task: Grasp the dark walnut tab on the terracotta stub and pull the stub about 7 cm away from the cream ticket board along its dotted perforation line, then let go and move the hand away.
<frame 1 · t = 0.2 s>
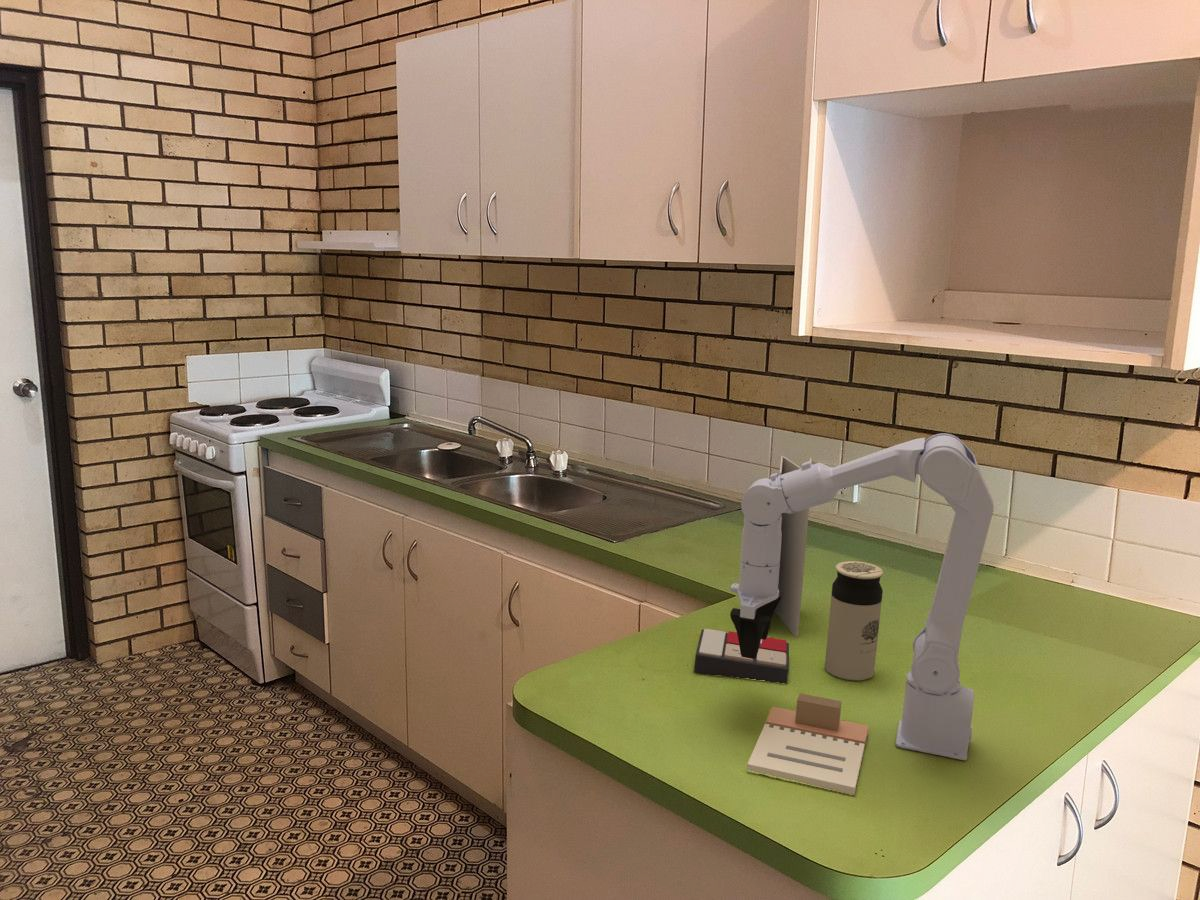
hand: (754, 647, 146), 10 cm above the worktop, tool pointing down, fingers open, 7 cm apart
travel mug: (849, 672, 162), on the worktop
ticket: (806, 761, 133), on the worktop
calculator: (741, 667, 163), on the worktop
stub: (817, 715, 141), point 2 cm above the worktop, slide at 0.0 cm
brochure: (783, 622, 182), on the worktop
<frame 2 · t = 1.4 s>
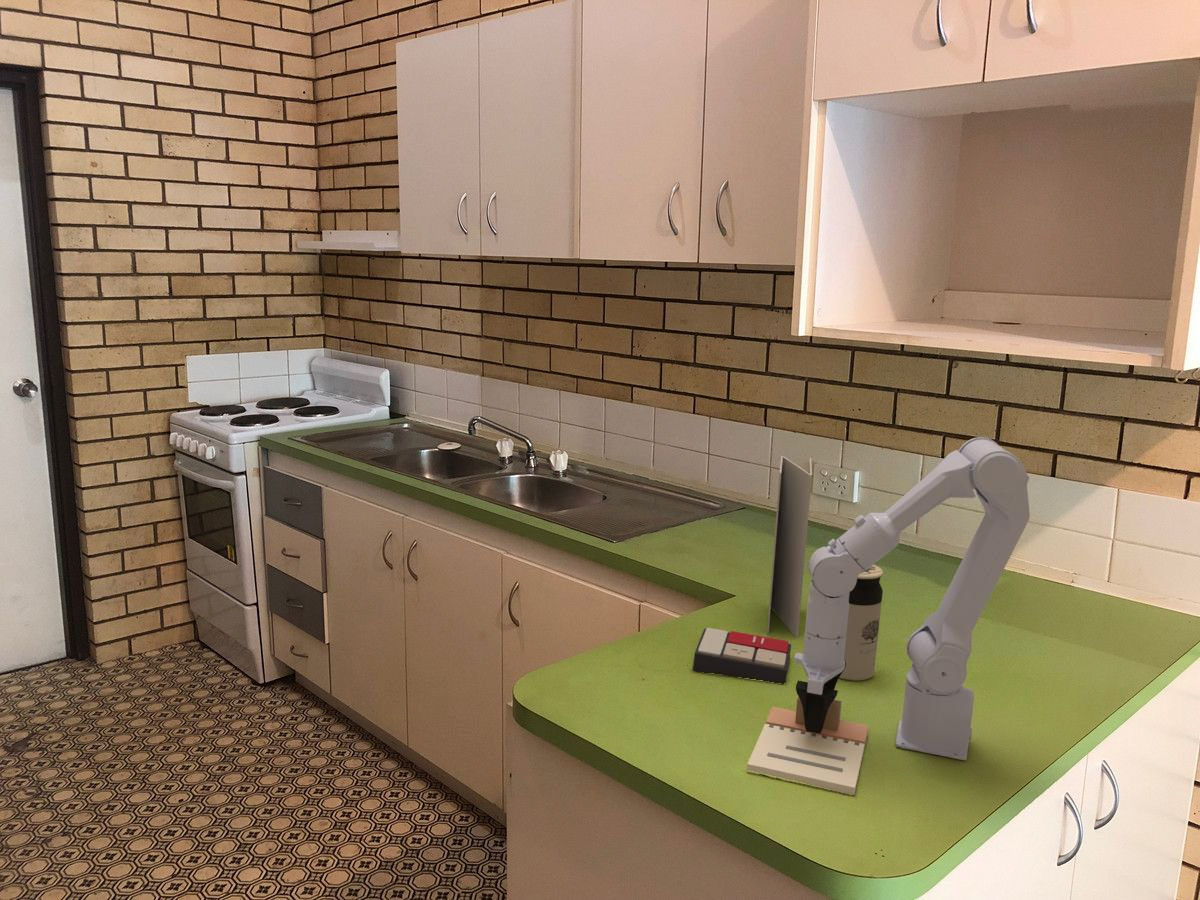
hand: (817, 719, 141), 2 cm above the worktop, tool pointing down, fingers open, 7 cm apart
nothing on the worktop moved.
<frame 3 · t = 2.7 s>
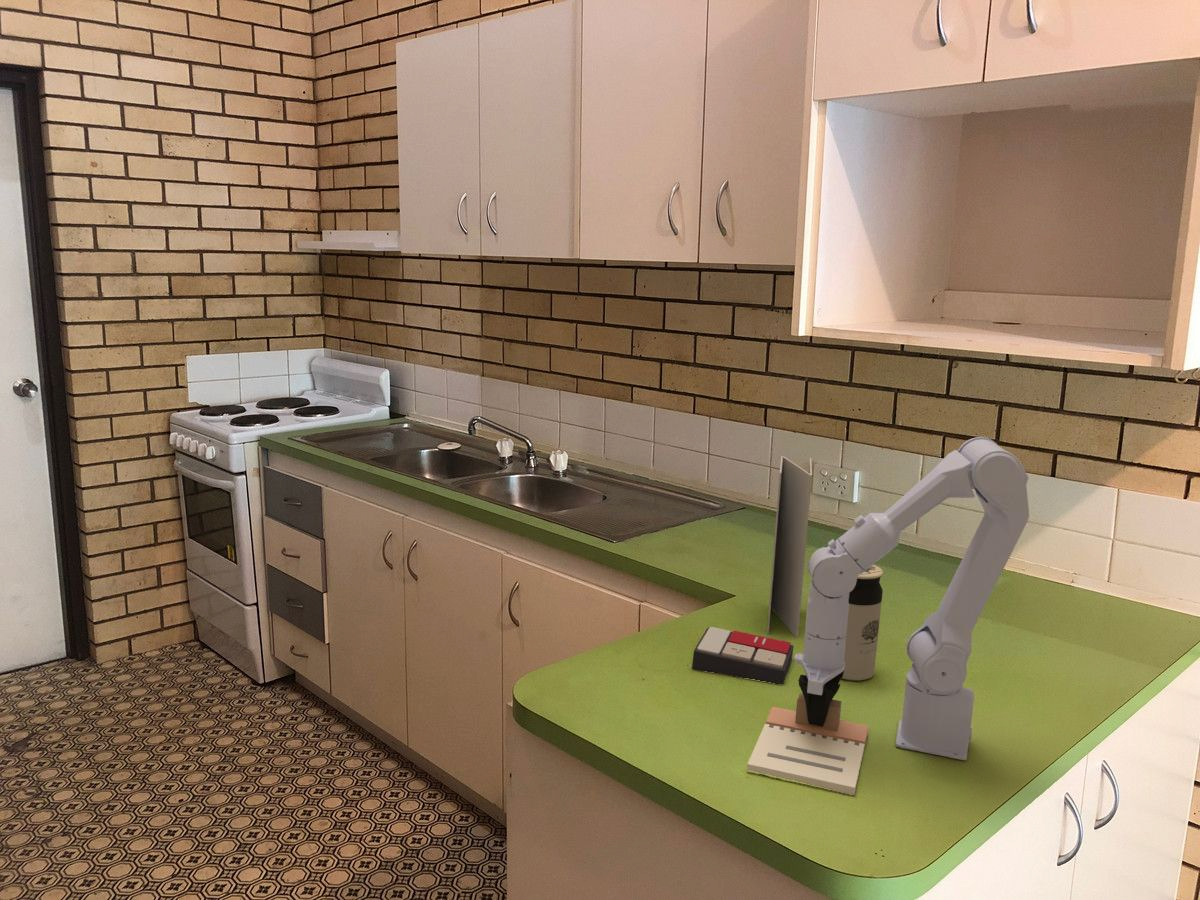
hand: (817, 719, 141), 2 cm above the worktop, tool pointing down, fingers closed on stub, 2 cm apart
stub: (817, 715, 141), point 2 cm above the worktop, slide at 0.0 cm, touching gripper
everything else where it was.
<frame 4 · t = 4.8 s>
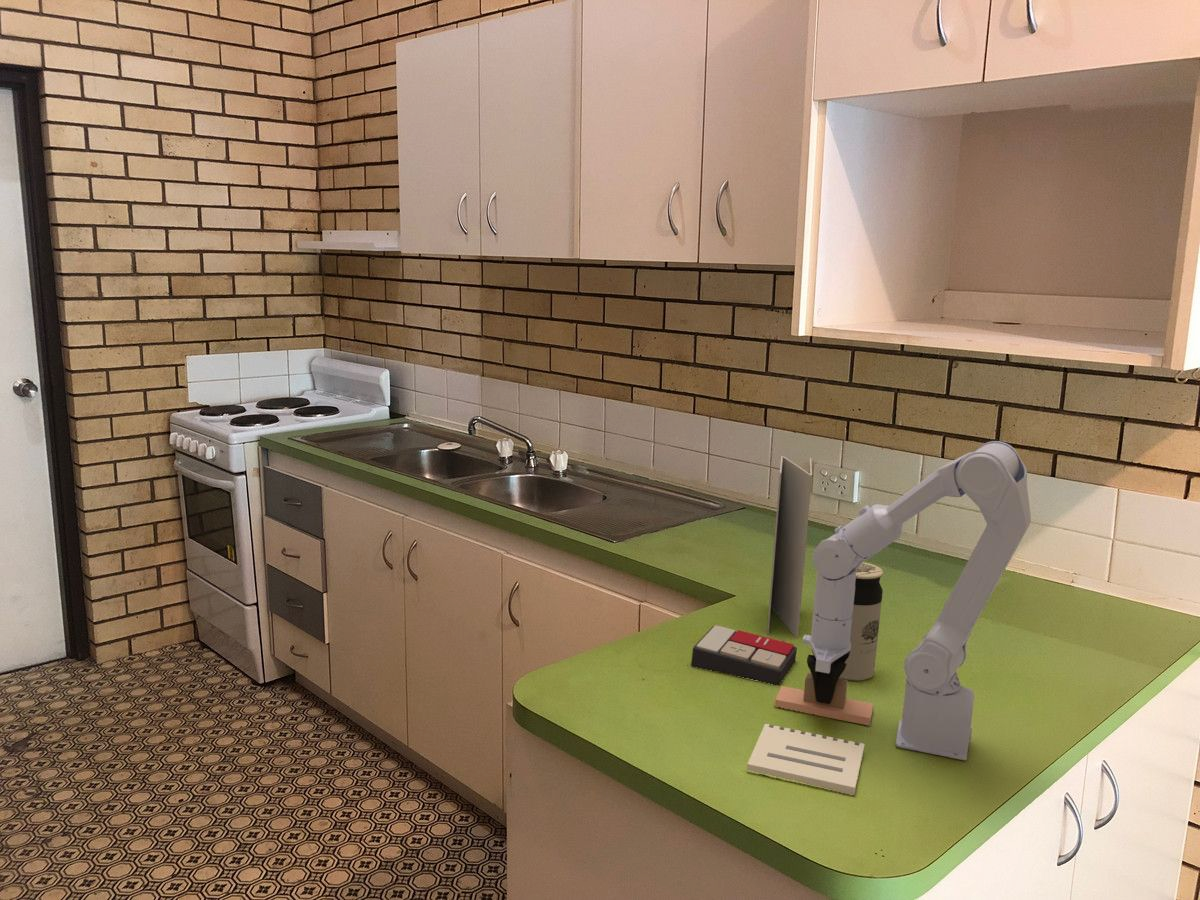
hand: (824, 697, 148), 2 cm above the worktop, tool pointing down, fingers closed on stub, 2 cm apart
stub: (825, 694, 148), point 2 cm above the worktop, slide at 7.5 cm, touching gripper
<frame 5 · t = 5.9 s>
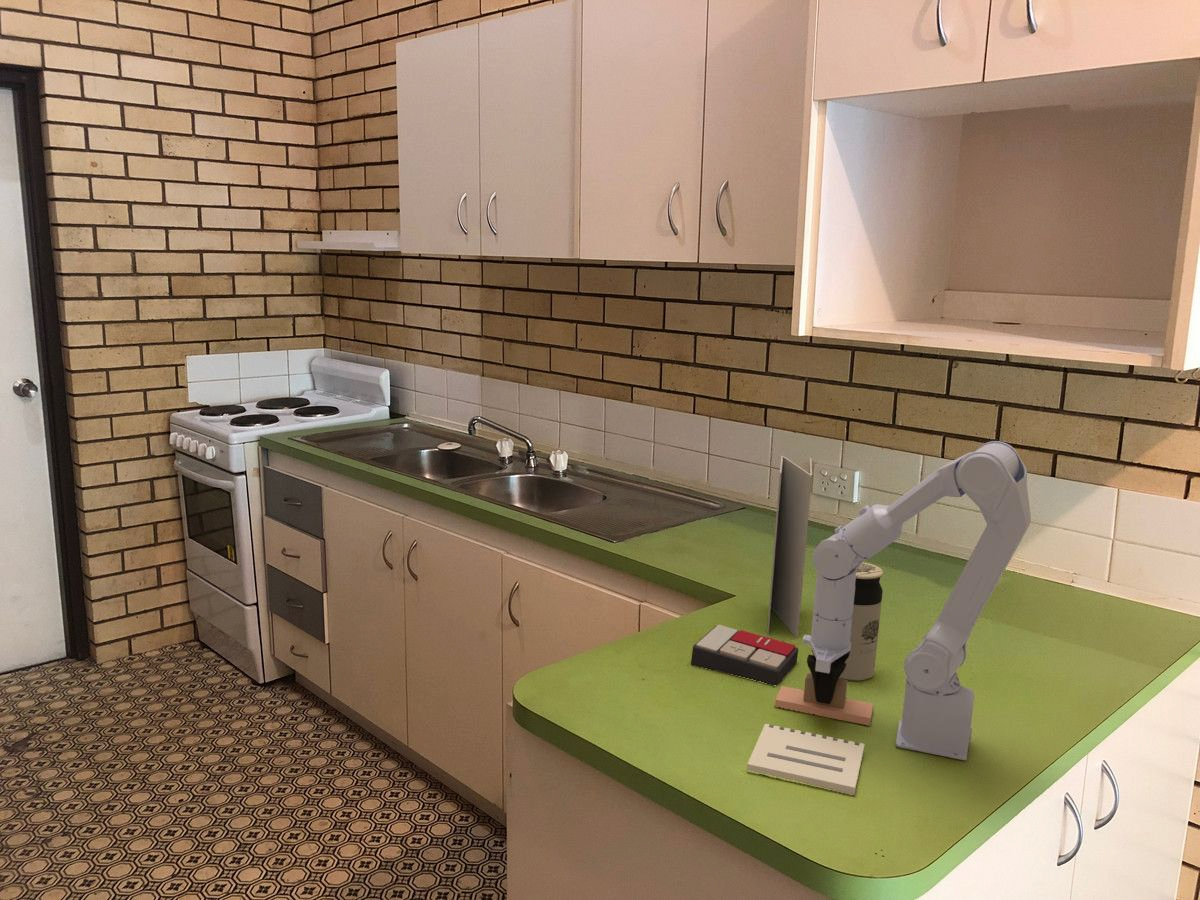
hand: (824, 697, 148), 2 cm above the worktop, tool pointing down, fingers closed on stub, 2 cm apart
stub: (825, 694, 148), point 2 cm above the worktop, slide at 7.5 cm, touching gripper
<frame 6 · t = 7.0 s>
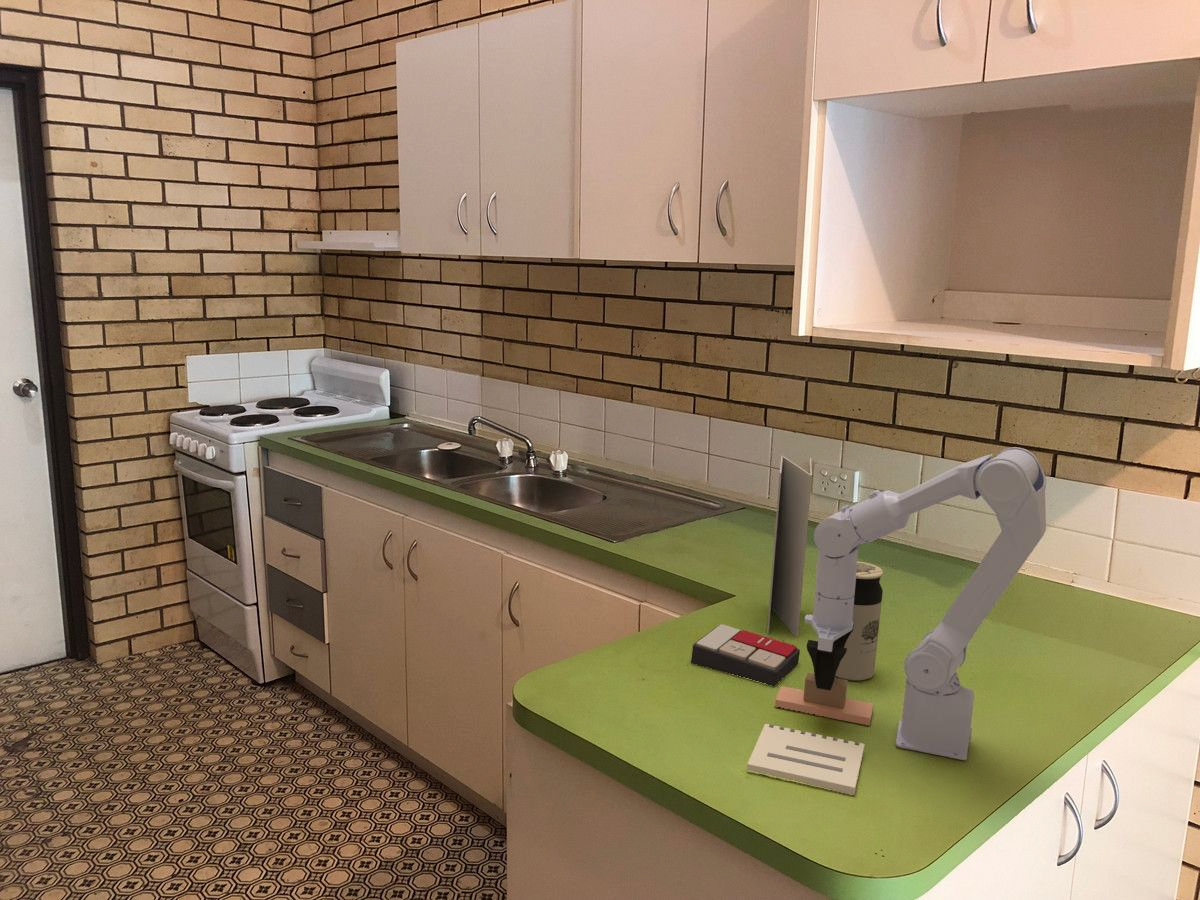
hand: (827, 677, 147), 5 cm above the worktop, tool pointing down, fingers open, 7 cm apart
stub: (825, 694, 148), point 2 cm above the worktop, slide at 7.5 cm
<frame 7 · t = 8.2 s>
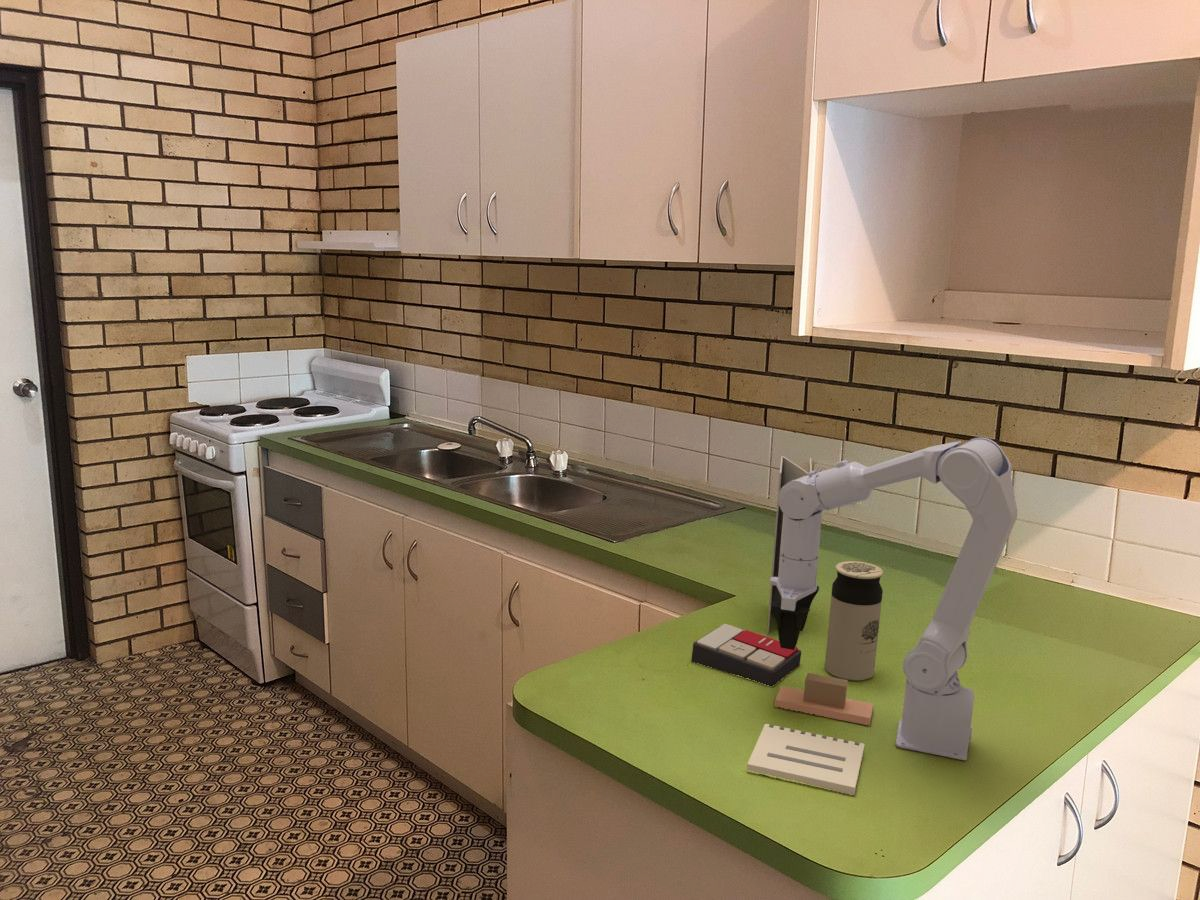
hand: (791, 638, 151), 9 cm above the worktop, tool pointing down, fingers open, 7 cm apart
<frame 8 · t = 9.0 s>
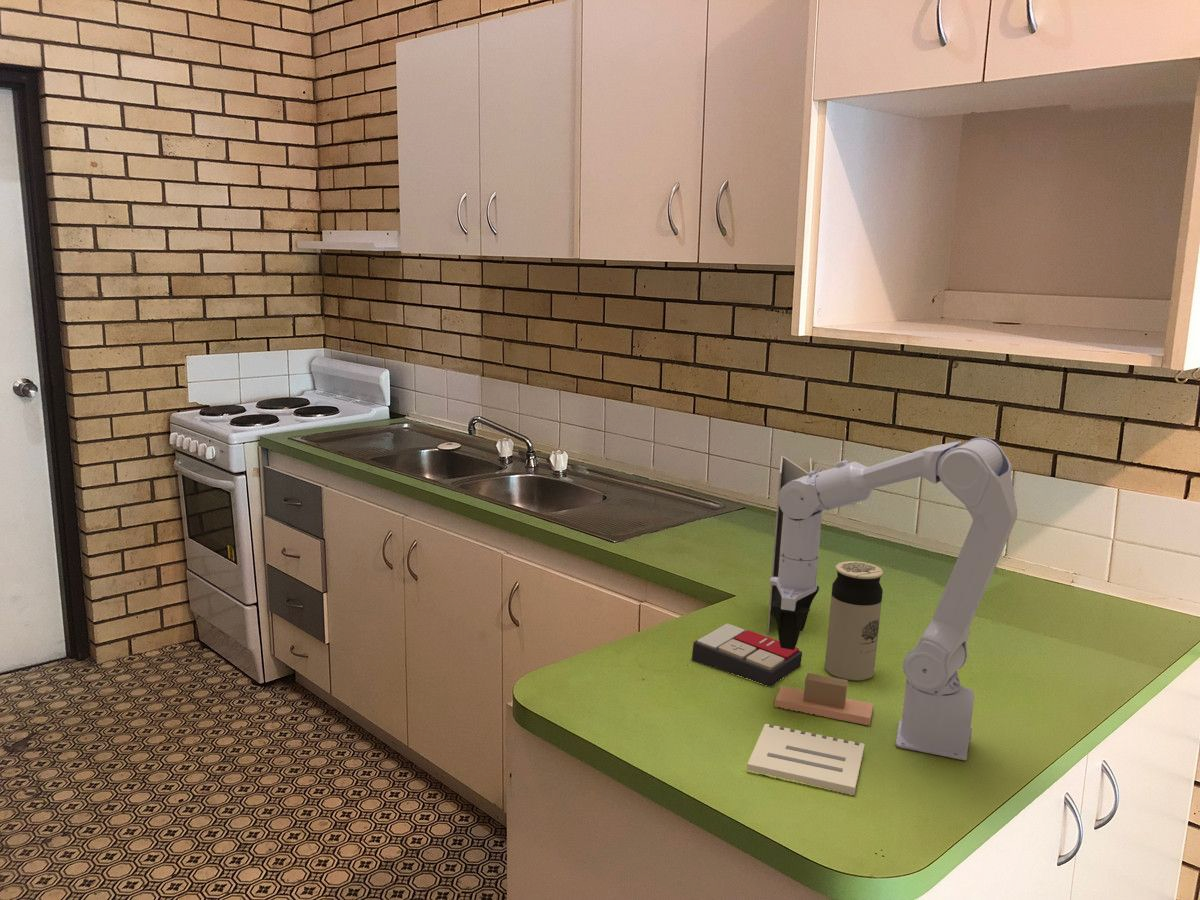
hand: (791, 638, 151), 9 cm above the worktop, tool pointing down, fingers open, 7 cm apart
at the end: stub slide at 7.5 cm; the gripper is holding nothing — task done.
